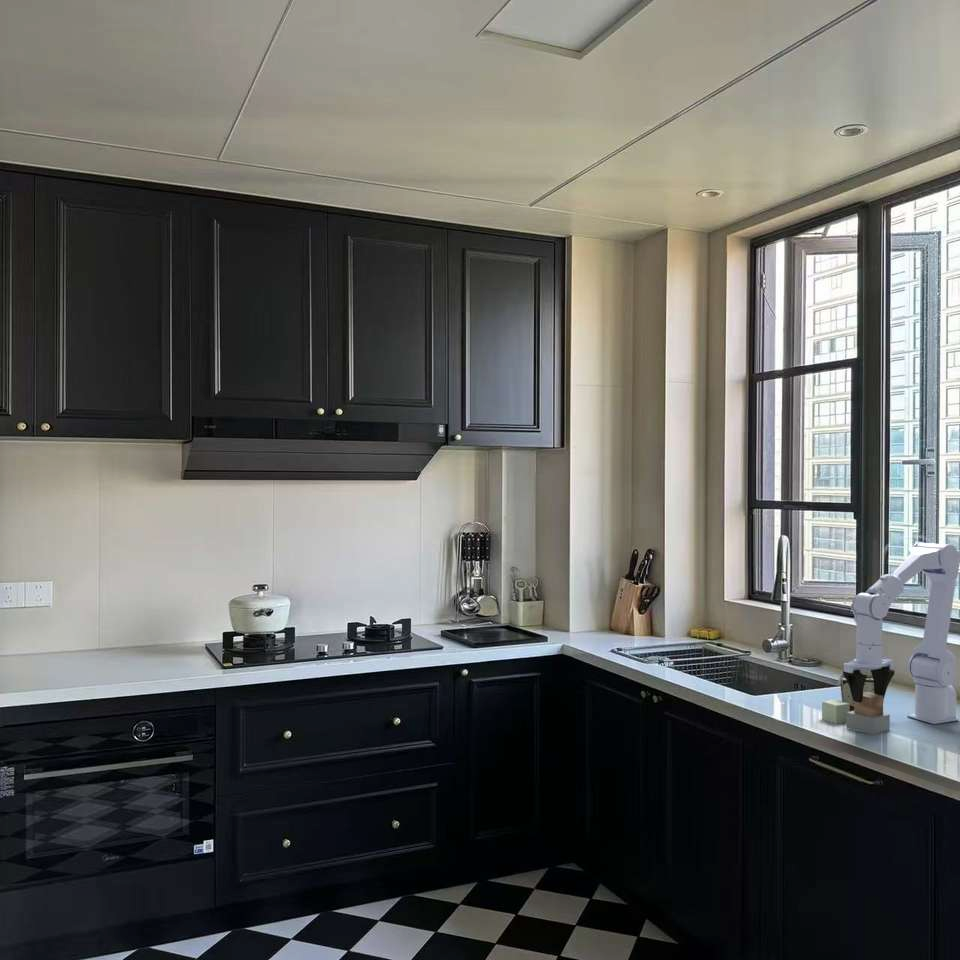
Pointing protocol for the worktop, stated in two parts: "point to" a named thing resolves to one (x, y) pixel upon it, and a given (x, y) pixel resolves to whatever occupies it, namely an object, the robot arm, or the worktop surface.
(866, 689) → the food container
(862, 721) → the slate block
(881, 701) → the walnut cube
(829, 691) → the worktop surface
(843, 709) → the sage cube
